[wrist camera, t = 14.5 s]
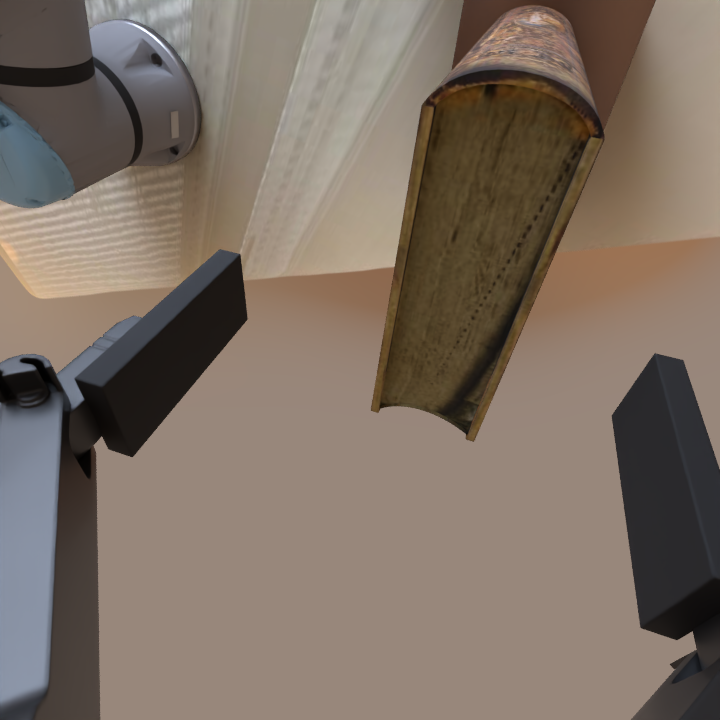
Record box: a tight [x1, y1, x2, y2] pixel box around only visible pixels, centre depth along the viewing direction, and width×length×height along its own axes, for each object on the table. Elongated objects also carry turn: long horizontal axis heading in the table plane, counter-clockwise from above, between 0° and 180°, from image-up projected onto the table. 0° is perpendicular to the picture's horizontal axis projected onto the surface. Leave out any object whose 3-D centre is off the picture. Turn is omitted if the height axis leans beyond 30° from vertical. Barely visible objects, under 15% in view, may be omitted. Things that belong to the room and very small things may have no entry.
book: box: [371, 5, 604, 442], centre depth 27 cm, size 16×6×25 cm, turn 174°
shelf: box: [452, 0, 656, 131], centre depth 41 cm, size 12×20×12 cm, turn 176°
